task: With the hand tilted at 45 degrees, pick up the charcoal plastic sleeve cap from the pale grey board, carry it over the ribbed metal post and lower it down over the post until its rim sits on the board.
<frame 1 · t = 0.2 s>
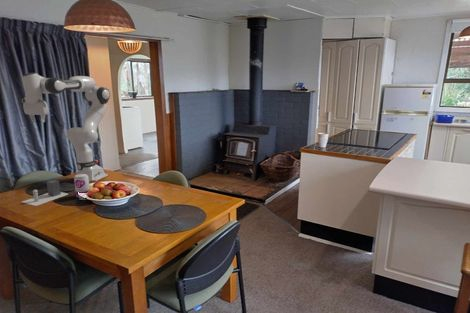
hand: (38, 121, 208), 47 cm above the table, tool pointing down, fingers open, 8 cm apart
post board: (46, 200, 206), on the table
supplement can: (83, 198, 210), on the table
cap: (54, 194, 211), point 1 cm above the table, touching post board
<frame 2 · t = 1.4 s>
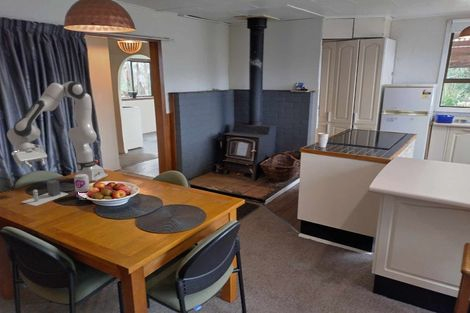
hand: (37, 166, 211), 19 cm above the table, tool tilted 45°, fingers open, 8 cm apart
nothing on the table moved.
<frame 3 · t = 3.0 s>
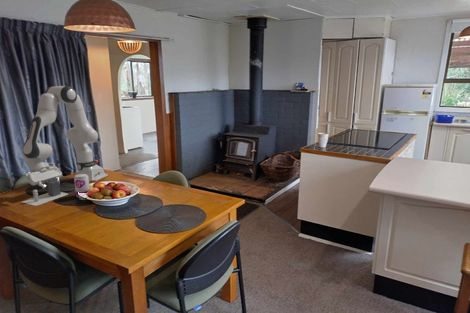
hand: (51, 185, 209), 8 cm above the table, tool tilted 45°, fingers open, 8 cm apart
nothing on the table moved.
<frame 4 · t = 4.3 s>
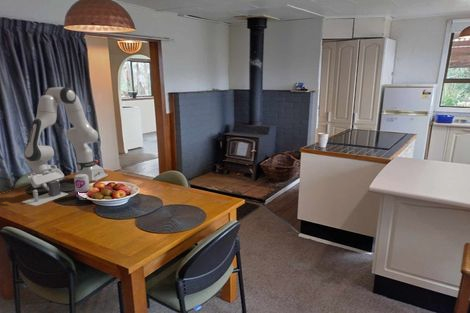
hand: (54, 188, 210), 6 cm above the table, tool tilted 45°, fingers closed on cap, 5 cm apart
cap: (54, 194, 211), point 2 cm above the table, touching gripper, post board
everything else where it was.
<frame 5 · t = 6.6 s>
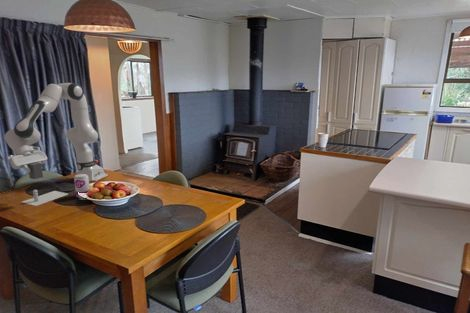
hand: (36, 170, 197), 21 cm above the table, tool tilted 45°, fingers closed on cap, 5 cm apart
cap: (36, 177, 199), point 16 cm above the table, touching gripper
everything else where it was.
when the fingers open (8 cm above the table, at t = 9.0 s): cap drops 2 cm, resting on post board.
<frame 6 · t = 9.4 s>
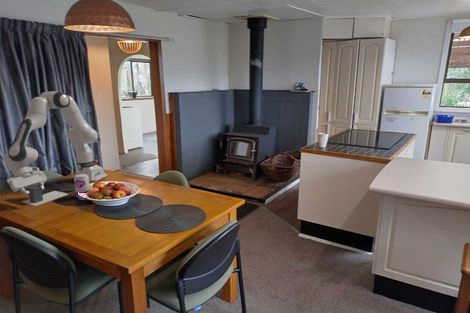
hand: (35, 191, 199), 8 cm above the table, tool tilted 45°, fingers open, 8 cm apart
cap: (36, 201, 201), point 1 cm above the table, touching post board
everything else where it was.
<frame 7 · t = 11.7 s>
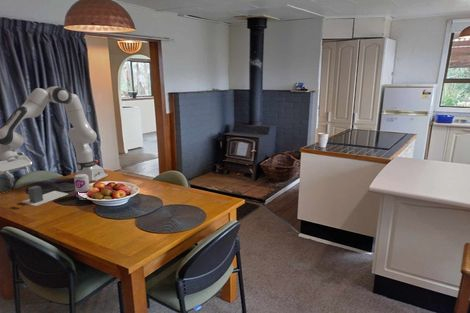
hand: (20, 175, 202), 16 cm above the table, tool tilted 45°, fingers open, 8 cm apart
nothing on the table moved.
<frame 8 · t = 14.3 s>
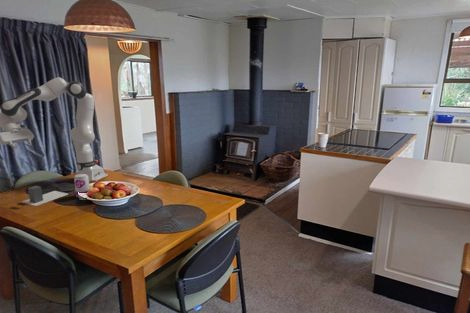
hand: (23, 146, 213), 31 cm above the table, tool tilted 45°, fingers open, 8 cm apart
nothing on the table moved.
at the end: cap 0.1 cm from the target spot on the post board, point 1.5 cm above the post board's base; cap tilted 0°; the gripper is holding nothing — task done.
